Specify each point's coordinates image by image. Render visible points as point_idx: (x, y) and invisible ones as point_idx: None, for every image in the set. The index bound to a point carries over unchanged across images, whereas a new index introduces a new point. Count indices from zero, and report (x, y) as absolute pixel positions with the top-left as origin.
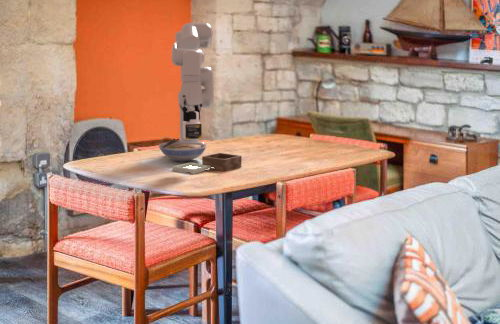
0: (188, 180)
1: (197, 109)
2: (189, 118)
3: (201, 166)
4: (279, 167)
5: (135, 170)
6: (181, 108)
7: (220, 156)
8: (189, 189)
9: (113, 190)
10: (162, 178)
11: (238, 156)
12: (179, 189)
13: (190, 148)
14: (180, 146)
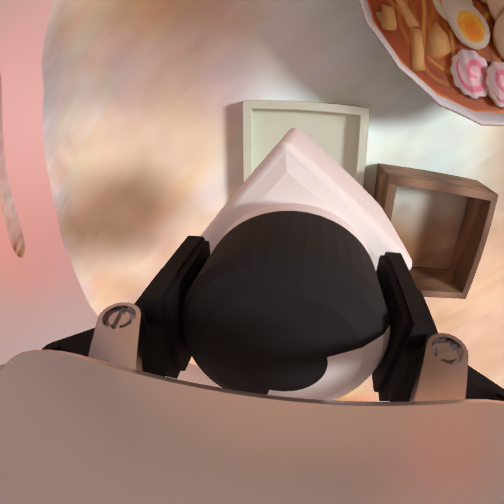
0: (163, 254)
1: (391, 398)
2: None
3: (354, 178)
4: (469, 352)
5: (155, 5)
6: (52, 348)
7: (483, 199)
8: (107, 306)
9: (3, 185)
10: (125, 173)
11: (451, 297)
12: (91, 289)
13: (480, 48)
14: None
